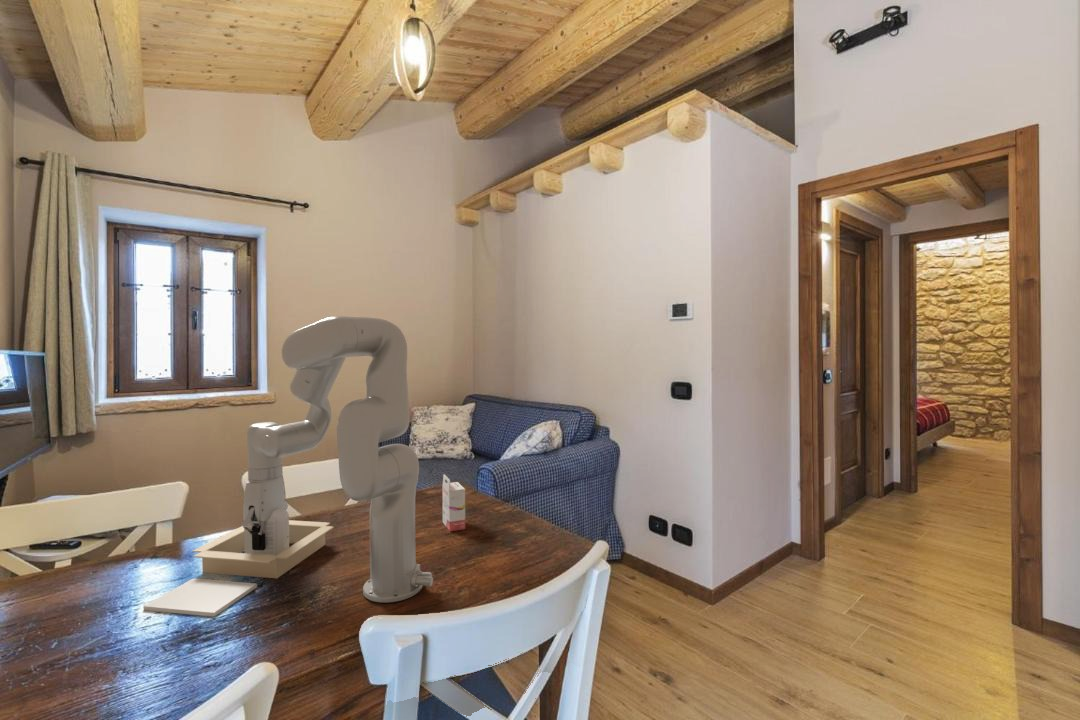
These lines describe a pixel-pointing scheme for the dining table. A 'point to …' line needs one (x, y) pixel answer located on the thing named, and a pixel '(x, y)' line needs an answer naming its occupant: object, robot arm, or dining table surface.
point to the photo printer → (271, 535)
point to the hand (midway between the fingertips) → (267, 543)
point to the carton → (229, 560)
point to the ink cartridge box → (453, 505)
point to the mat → (201, 597)
